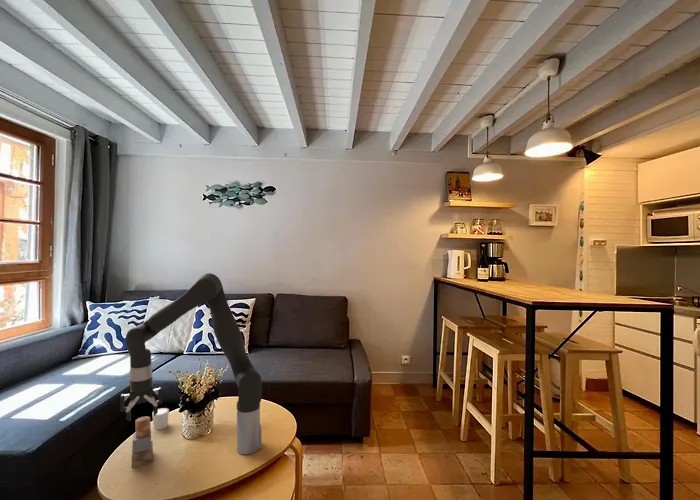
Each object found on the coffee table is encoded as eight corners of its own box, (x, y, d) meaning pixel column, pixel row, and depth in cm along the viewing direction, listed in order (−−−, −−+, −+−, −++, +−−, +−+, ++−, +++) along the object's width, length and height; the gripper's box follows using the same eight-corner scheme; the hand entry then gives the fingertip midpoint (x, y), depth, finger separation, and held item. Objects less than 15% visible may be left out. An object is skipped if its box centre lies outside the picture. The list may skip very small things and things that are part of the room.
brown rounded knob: (150, 429, 143) (150, 415, 143) (150, 436, 139) (150, 420, 138) (135, 433, 140) (135, 418, 140) (135, 439, 136) (135, 424, 136)
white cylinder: (162, 431, 160) (161, 415, 160) (148, 429, 161) (148, 414, 161) (172, 423, 167) (172, 408, 166) (159, 421, 168) (159, 407, 168)
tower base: (152, 452, 144) (152, 440, 144) (153, 462, 138) (152, 449, 138) (132, 457, 141) (132, 445, 141) (131, 468, 135) (131, 455, 135)
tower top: (151, 441, 144) (150, 429, 143) (150, 449, 138) (150, 436, 138) (133, 445, 141) (133, 433, 140) (132, 453, 135) (132, 441, 135)
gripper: (161, 369, 145) (162, 409, 146) (120, 376, 138) (121, 417, 139) (162, 376, 139) (163, 417, 139) (118, 383, 132) (119, 426, 132)
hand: (142, 417), depth 139 cm, fingers open, 8 cm apart
